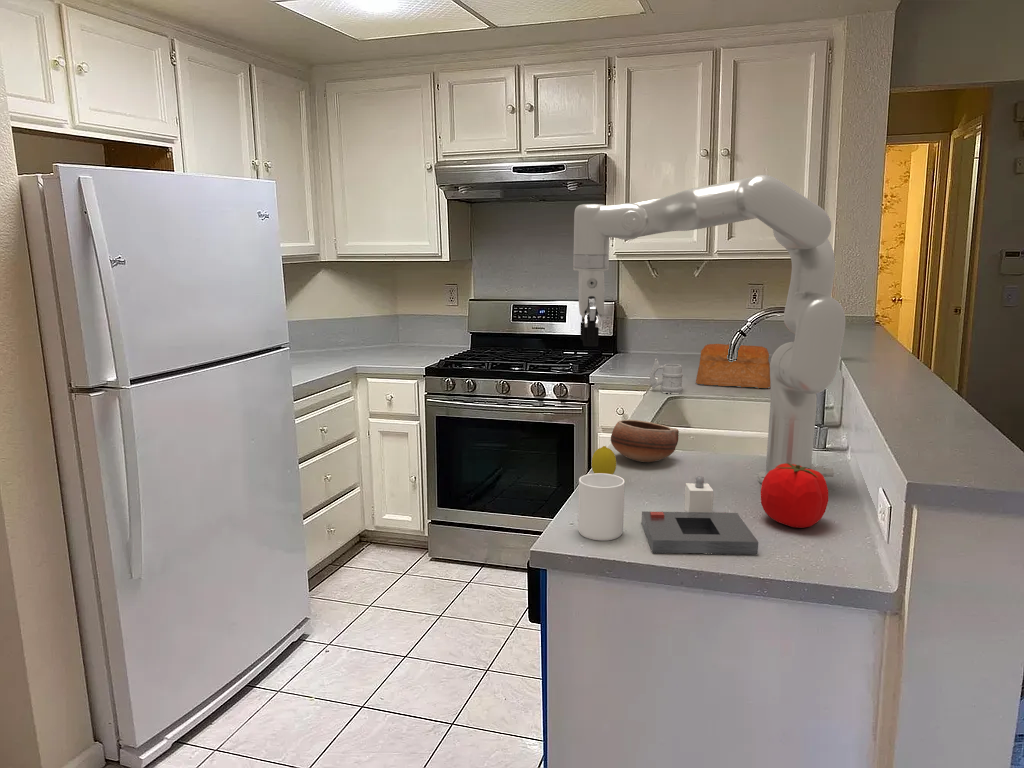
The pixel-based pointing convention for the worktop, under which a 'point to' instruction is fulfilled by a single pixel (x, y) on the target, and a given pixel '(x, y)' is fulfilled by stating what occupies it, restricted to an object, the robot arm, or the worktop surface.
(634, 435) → the bowl
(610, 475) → the cup
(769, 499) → the tomato
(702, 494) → the plug
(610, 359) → the worktop surface
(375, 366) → the worktop surface
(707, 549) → the socket
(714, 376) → the bread
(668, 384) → the mug
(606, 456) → the lemon
